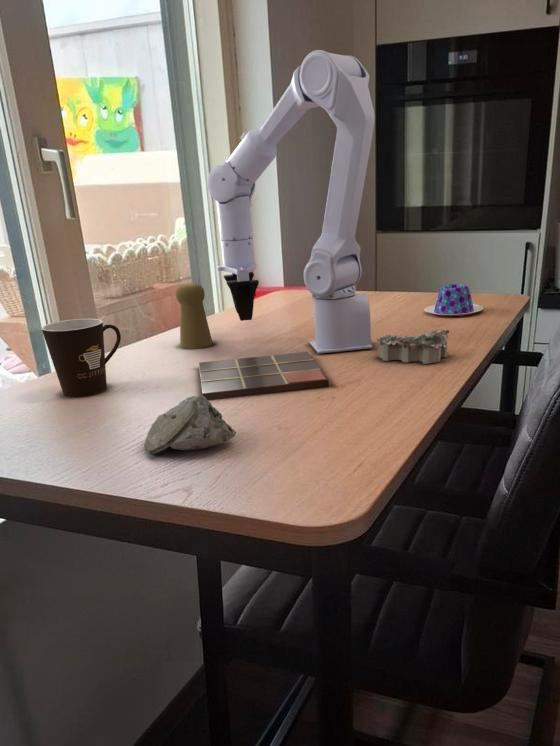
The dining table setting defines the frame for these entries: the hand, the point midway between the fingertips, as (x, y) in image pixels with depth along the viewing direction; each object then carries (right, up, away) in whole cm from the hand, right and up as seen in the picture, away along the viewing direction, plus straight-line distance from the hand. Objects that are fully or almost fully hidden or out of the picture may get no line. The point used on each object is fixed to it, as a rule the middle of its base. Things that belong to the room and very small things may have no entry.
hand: (244, 316), depth 130 cm
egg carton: (+29, -11, -17) cm, 35 cm away
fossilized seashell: (-1, -27, -47) cm, 54 cm away
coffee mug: (-20, -17, -23) cm, 35 cm away
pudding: (+42, +4, +14) cm, 44 cm away
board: (+5, -15, -23) cm, 27 cm away
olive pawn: (-9, -5, +1) cm, 10 cm away
